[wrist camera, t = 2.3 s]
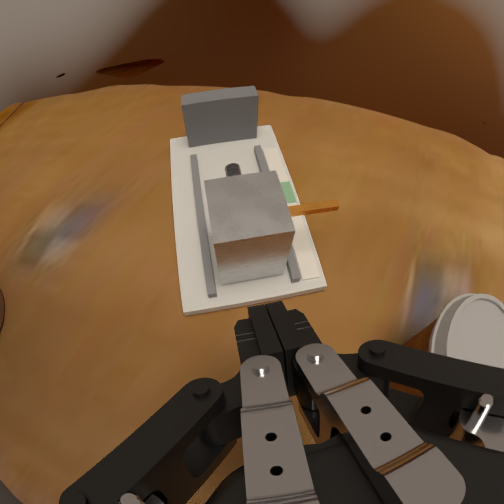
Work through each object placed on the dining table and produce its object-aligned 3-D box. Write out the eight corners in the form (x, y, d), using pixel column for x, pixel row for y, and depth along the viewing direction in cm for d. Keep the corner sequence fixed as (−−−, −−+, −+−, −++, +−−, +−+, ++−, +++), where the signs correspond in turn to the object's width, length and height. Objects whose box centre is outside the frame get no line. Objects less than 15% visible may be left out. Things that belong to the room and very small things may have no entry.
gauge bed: (185, 315, 28) (164, 286, 21) (171, 145, 39) (160, 98, 32) (324, 290, 30) (348, 253, 22) (269, 131, 40) (273, 84, 33)
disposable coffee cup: (384, 317, 28) (450, 270, 18) (452, 341, 27) (526, 307, 16) (358, 405, 24) (426, 404, 14) (433, 423, 23) (513, 421, 12)
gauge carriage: (221, 284, 28) (213, 244, 21) (206, 193, 33) (198, 140, 26) (331, 264, 29) (356, 221, 22) (301, 180, 34) (312, 128, 27)
